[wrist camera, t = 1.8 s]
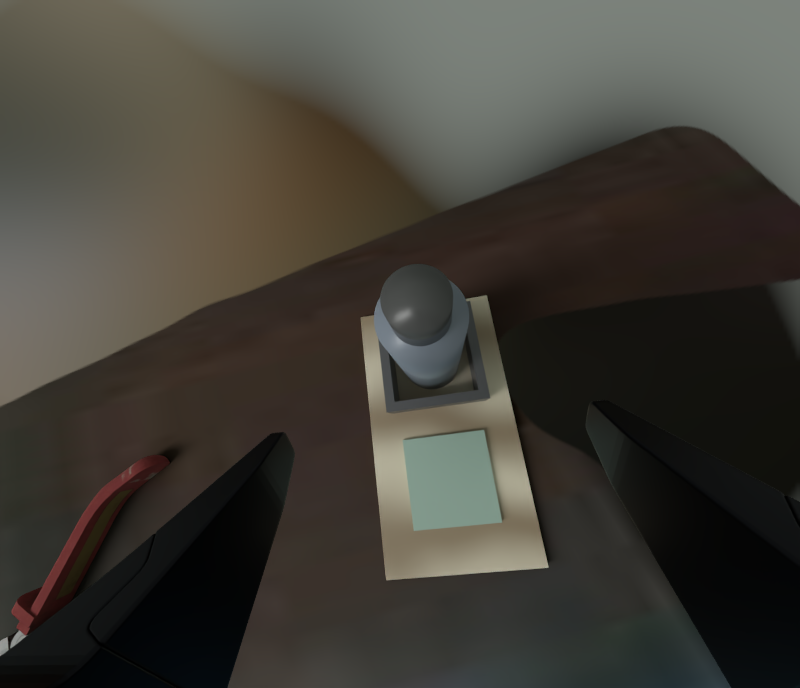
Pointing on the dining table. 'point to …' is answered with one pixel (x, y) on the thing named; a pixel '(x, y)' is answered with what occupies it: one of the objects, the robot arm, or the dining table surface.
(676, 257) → the dining table surface
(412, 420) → the board
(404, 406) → the gray square frame
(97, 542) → the pliers
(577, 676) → the dining table surface
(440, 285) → the capped bottle
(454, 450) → the pad
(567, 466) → the dining table surface
